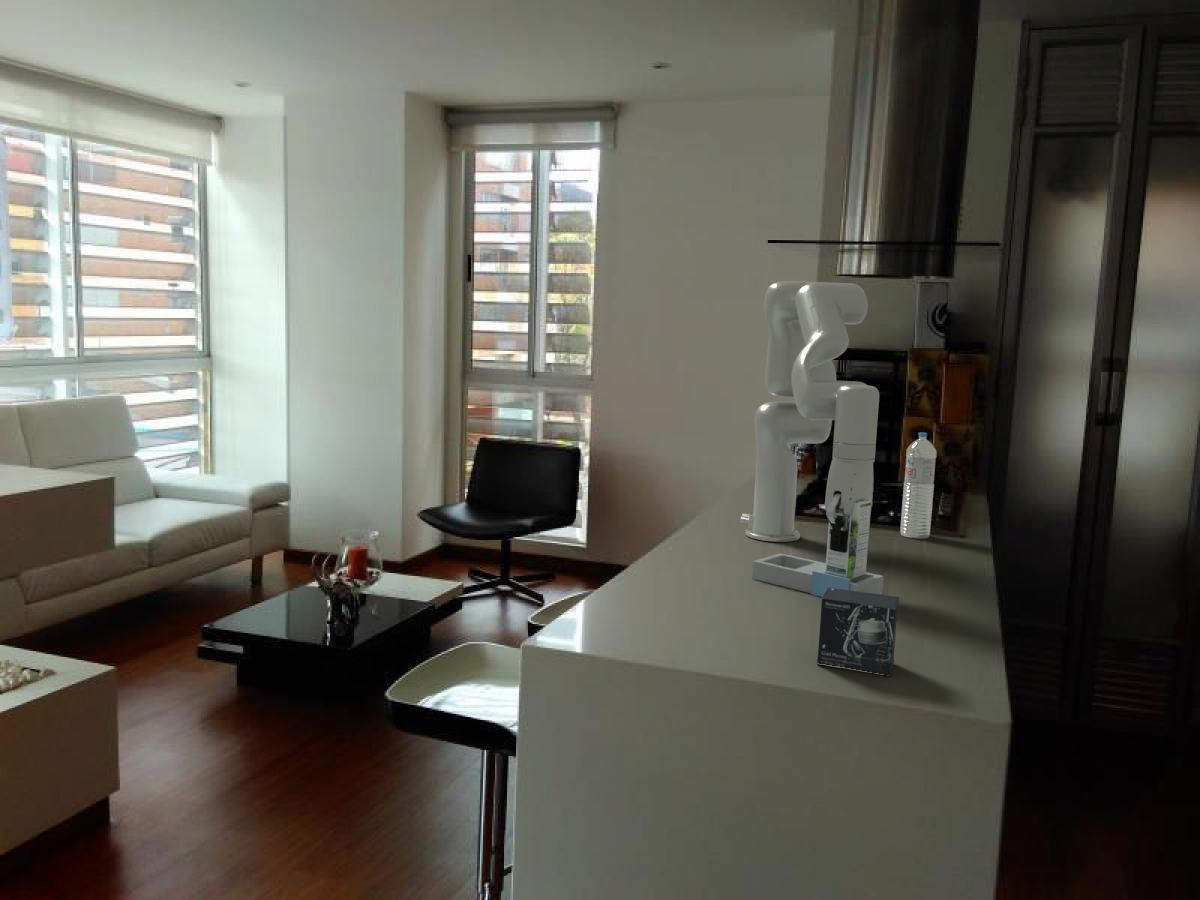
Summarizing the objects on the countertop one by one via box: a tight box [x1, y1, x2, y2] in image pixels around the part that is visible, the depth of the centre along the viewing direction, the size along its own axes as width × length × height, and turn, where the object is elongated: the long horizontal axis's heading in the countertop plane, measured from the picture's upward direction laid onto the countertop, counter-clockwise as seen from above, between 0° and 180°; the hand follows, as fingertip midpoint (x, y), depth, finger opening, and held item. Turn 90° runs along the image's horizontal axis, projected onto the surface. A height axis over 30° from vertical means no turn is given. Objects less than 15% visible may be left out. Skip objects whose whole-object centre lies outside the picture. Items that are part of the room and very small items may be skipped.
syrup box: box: [825, 498, 873, 579], centre depth 178 cm, size 6×6×14 cm
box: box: [816, 588, 900, 676], centre depth 141 cm, size 11×7×10 cm, turn 69°
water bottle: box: [899, 432, 938, 540], centre depth 228 cm, size 7×7×25 cm
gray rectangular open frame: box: [751, 553, 884, 598], centre depth 183 cm, size 22×10×4 cm, turn 47°
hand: (847, 547), depth 178 cm, fingers closed on syrup box, 5 cm apart
